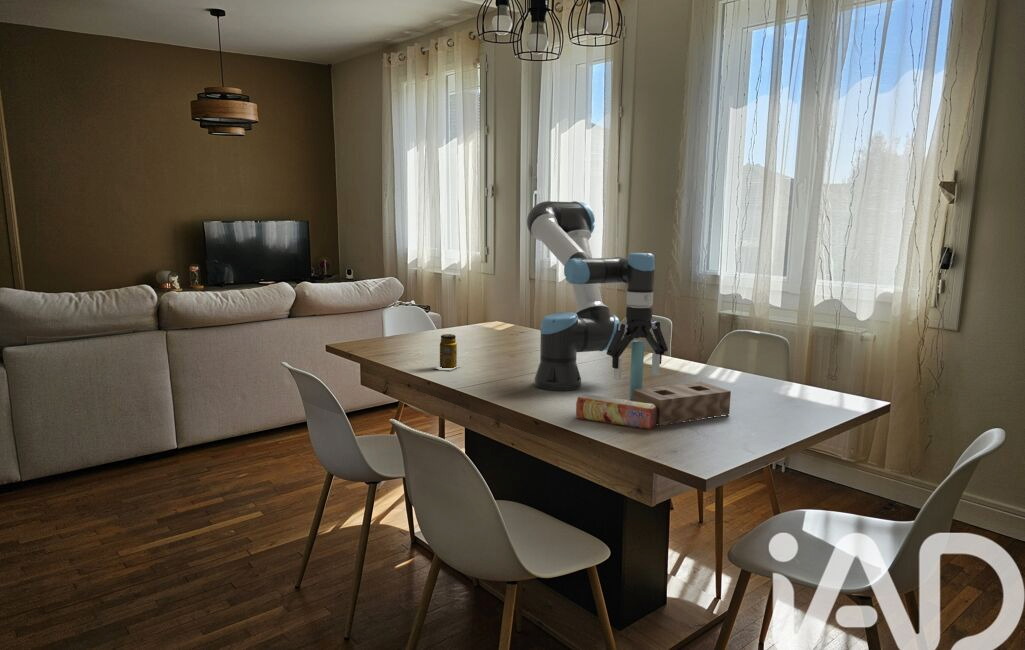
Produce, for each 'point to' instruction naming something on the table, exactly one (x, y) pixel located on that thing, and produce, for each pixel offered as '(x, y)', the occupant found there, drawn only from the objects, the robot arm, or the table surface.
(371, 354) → the table surface
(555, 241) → the robot arm
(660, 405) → the hole block
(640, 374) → the peg
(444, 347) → the condiment
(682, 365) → the table surface
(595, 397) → the snack package
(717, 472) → the table surface
